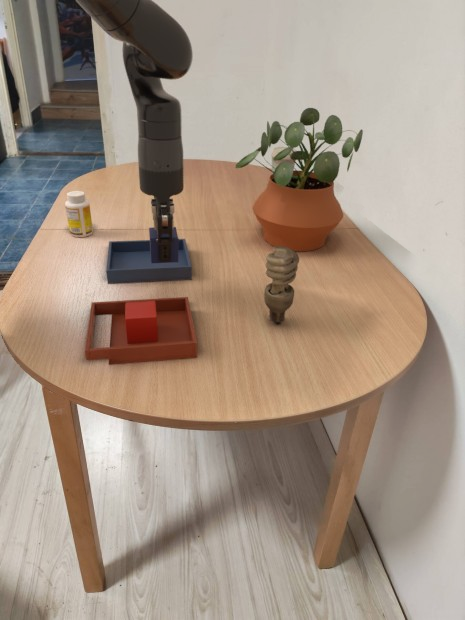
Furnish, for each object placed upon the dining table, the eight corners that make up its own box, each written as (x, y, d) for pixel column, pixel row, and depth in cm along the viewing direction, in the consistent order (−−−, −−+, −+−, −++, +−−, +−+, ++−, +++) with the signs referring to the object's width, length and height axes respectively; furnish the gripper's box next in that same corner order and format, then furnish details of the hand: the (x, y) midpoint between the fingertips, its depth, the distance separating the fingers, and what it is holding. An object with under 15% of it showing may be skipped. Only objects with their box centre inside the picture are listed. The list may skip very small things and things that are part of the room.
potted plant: (355, 255, 109) (383, 122, 93) (242, 264, 102) (251, 123, 86) (317, 219, 127) (335, 104, 111) (219, 225, 121) (223, 103, 104)
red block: (127, 343, 75) (124, 318, 72) (127, 326, 79) (125, 302, 77) (157, 341, 76) (156, 316, 73) (156, 324, 80) (155, 300, 77)
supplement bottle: (90, 227, 116) (85, 188, 110) (95, 236, 112) (90, 195, 106) (68, 230, 114) (61, 190, 108) (71, 239, 109) (65, 198, 104)
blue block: (151, 263, 83) (150, 238, 81) (150, 251, 88) (149, 227, 85) (178, 262, 84) (178, 237, 82) (176, 250, 88) (175, 226, 86)
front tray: (87, 366, 71) (84, 351, 69) (93, 316, 82) (91, 302, 81) (197, 357, 74) (197, 342, 72) (188, 310, 85) (187, 296, 84)
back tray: (107, 283, 92) (106, 270, 91) (110, 253, 104) (109, 241, 102) (191, 279, 95) (191, 266, 94) (185, 250, 107) (185, 238, 105)
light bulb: (282, 335, 80) (292, 258, 72) (254, 325, 82) (261, 250, 74) (295, 320, 84) (305, 246, 76) (268, 311, 86) (276, 238, 78)
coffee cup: (264, 188, 149) (267, 150, 143) (272, 181, 156) (276, 145, 149) (289, 192, 147) (293, 154, 140) (296, 185, 153) (301, 148, 147)
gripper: (187, 176, 71) (187, 271, 81) (179, 152, 83) (180, 237, 92) (139, 176, 70) (145, 273, 79) (137, 152, 82) (142, 239, 91)
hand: (163, 253), depth 86 cm, fingers closed on blue block, 5 cm apart
